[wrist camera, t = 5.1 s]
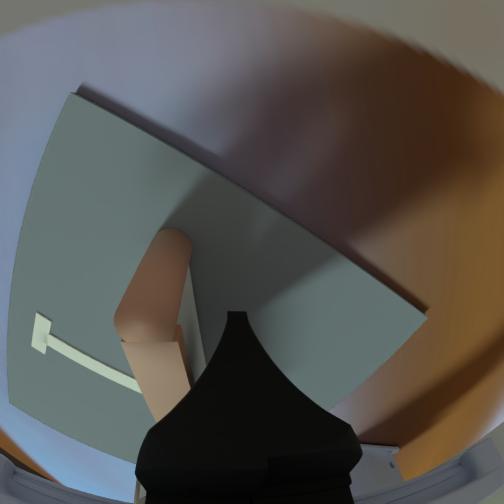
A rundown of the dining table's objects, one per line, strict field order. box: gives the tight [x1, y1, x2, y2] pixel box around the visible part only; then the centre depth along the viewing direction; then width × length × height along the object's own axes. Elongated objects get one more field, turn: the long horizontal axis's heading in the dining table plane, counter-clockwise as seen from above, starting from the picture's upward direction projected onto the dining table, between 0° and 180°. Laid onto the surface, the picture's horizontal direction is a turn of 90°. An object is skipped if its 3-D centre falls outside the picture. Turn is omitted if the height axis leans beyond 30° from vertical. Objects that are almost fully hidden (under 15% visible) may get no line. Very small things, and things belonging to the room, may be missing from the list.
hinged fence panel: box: [114, 229, 206, 423], centre depth 11 cm, size 10×2×5 cm, turn 2°
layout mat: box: [7, 92, 428, 464], centre depth 15 cm, size 20×24×1 cm
